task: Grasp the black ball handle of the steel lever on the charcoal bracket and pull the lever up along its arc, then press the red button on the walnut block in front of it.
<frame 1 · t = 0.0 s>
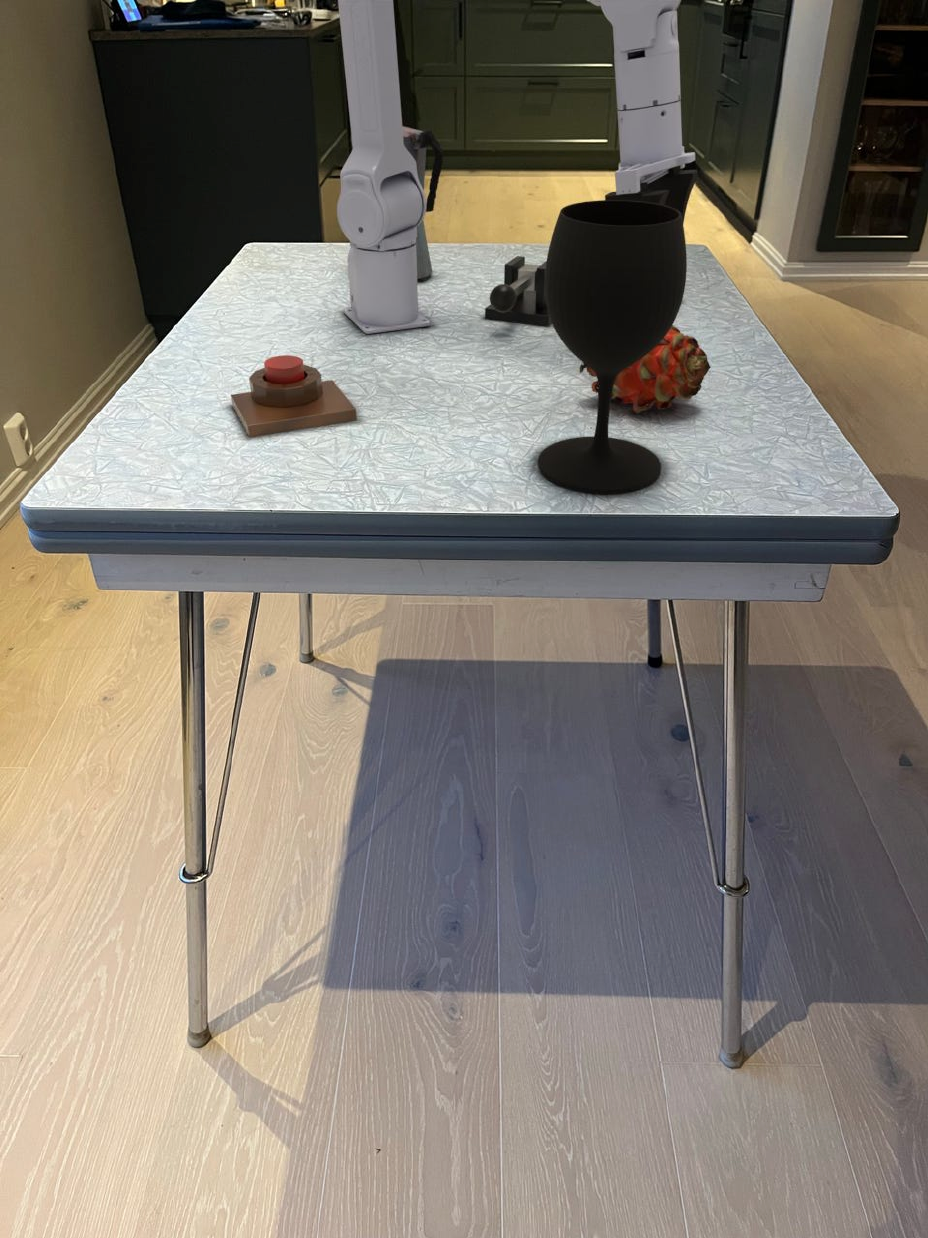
hand: (656, 260, 93), 11 cm above the table, tool pointing down, fingers open, 7 cm apart
wine glass: (598, 468, 79), on the table
bracket: (529, 311, 114), on the table
cork: (651, 302, 118), on the table
button block: (293, 413, 89), on the table
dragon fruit: (640, 407, 90), on the table
moka pot: (402, 277, 128), on the table
button: (284, 370, 88), point 3 cm above the table, slide at 0.1 cm
lever: (517, 287, 109), point 4 cm above the table, hinge at 0.0°
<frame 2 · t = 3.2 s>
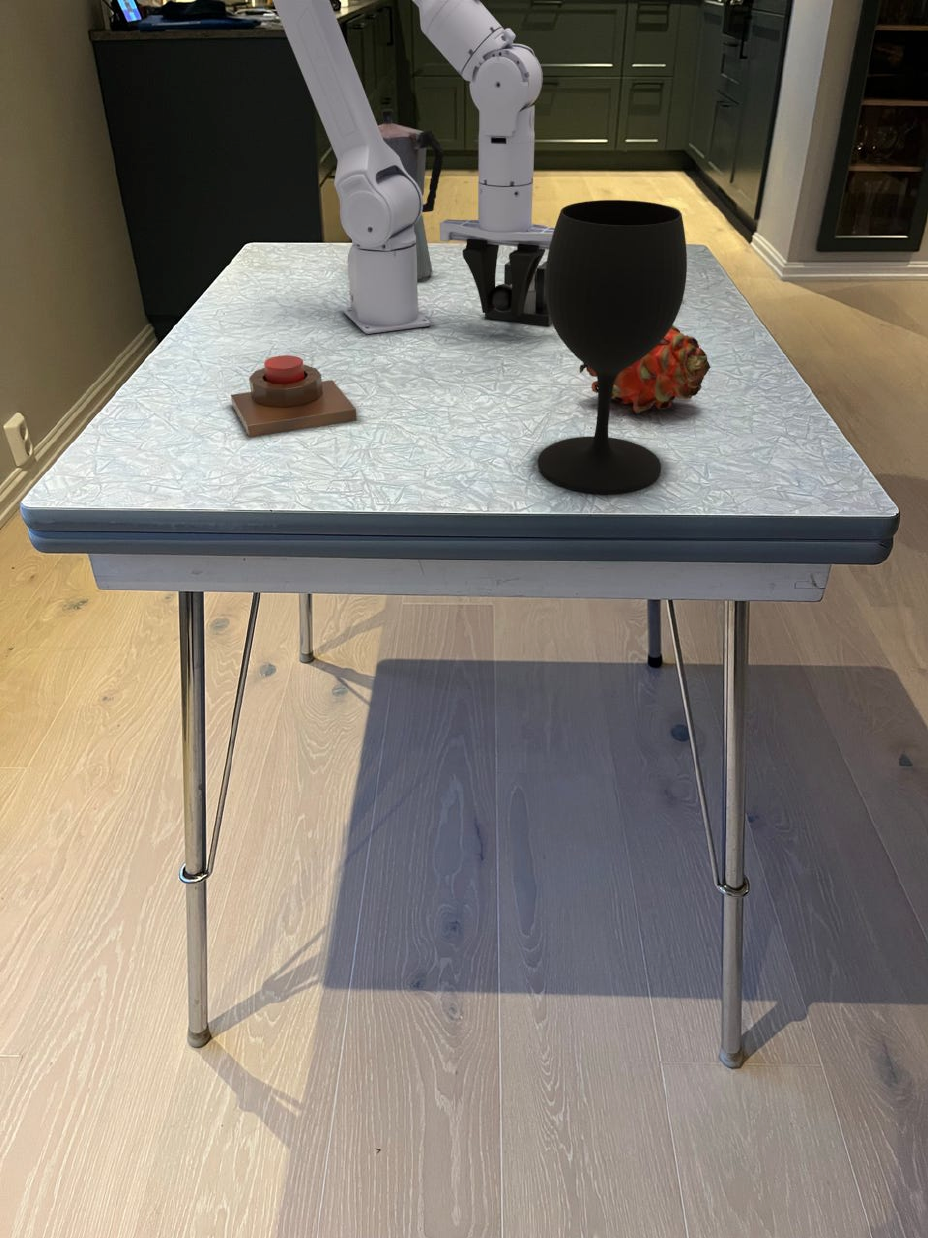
hand: (503, 312, 106), 2 cm above the table, tool pointing down, fingers closed on lever, 3 cm apart
lever: (517, 287, 109), point 4 cm above the table, hinge at 0.0°, touching gripper
everything else where it was.
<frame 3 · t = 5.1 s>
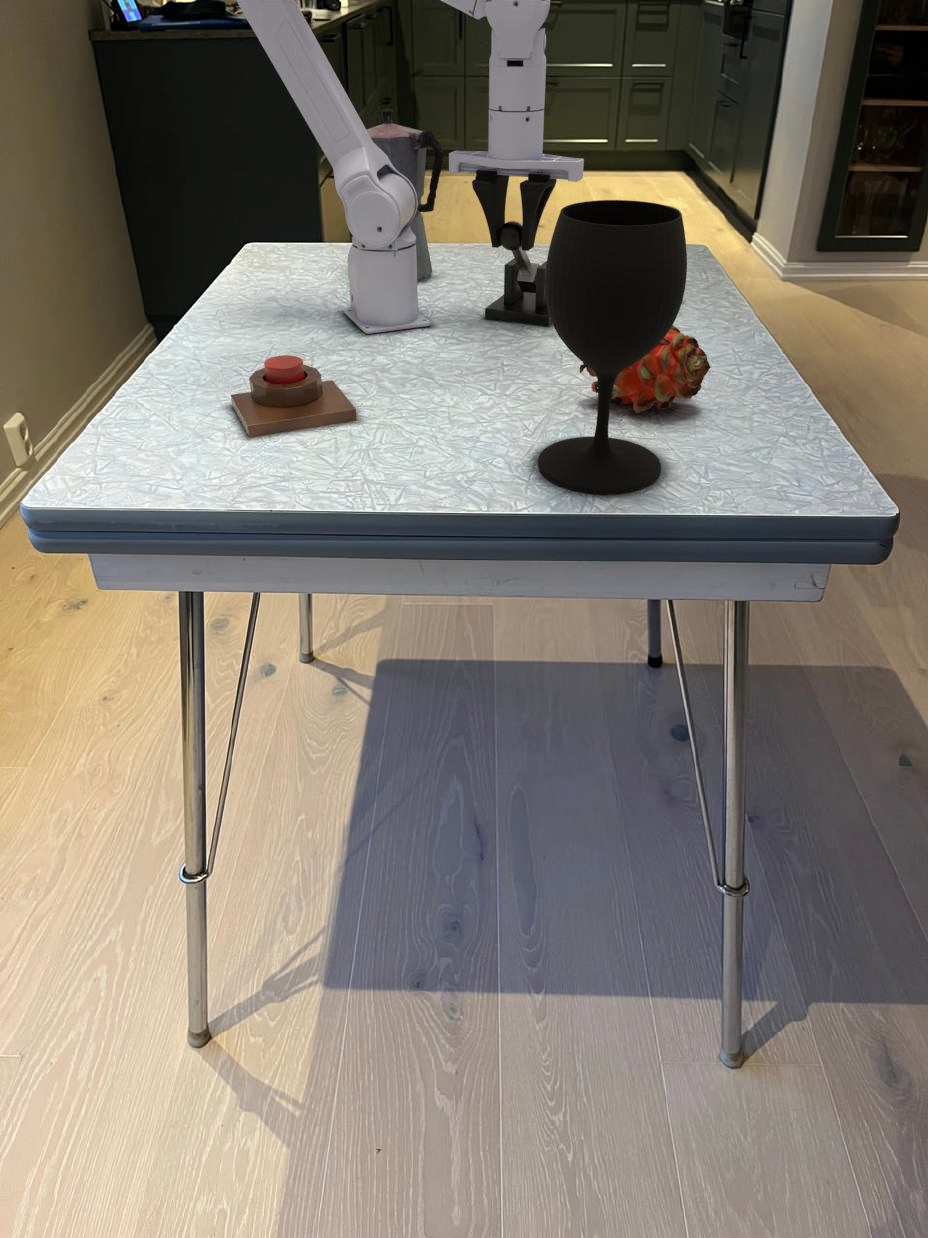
hand: (513, 247, 105), 9 cm above the table, tool pointing down, fingers closed on lever, 3 cm apart
lever: (521, 257, 108), point 7 cm above the table, hinge at 42.9°, touching gripper
everything else where it was.
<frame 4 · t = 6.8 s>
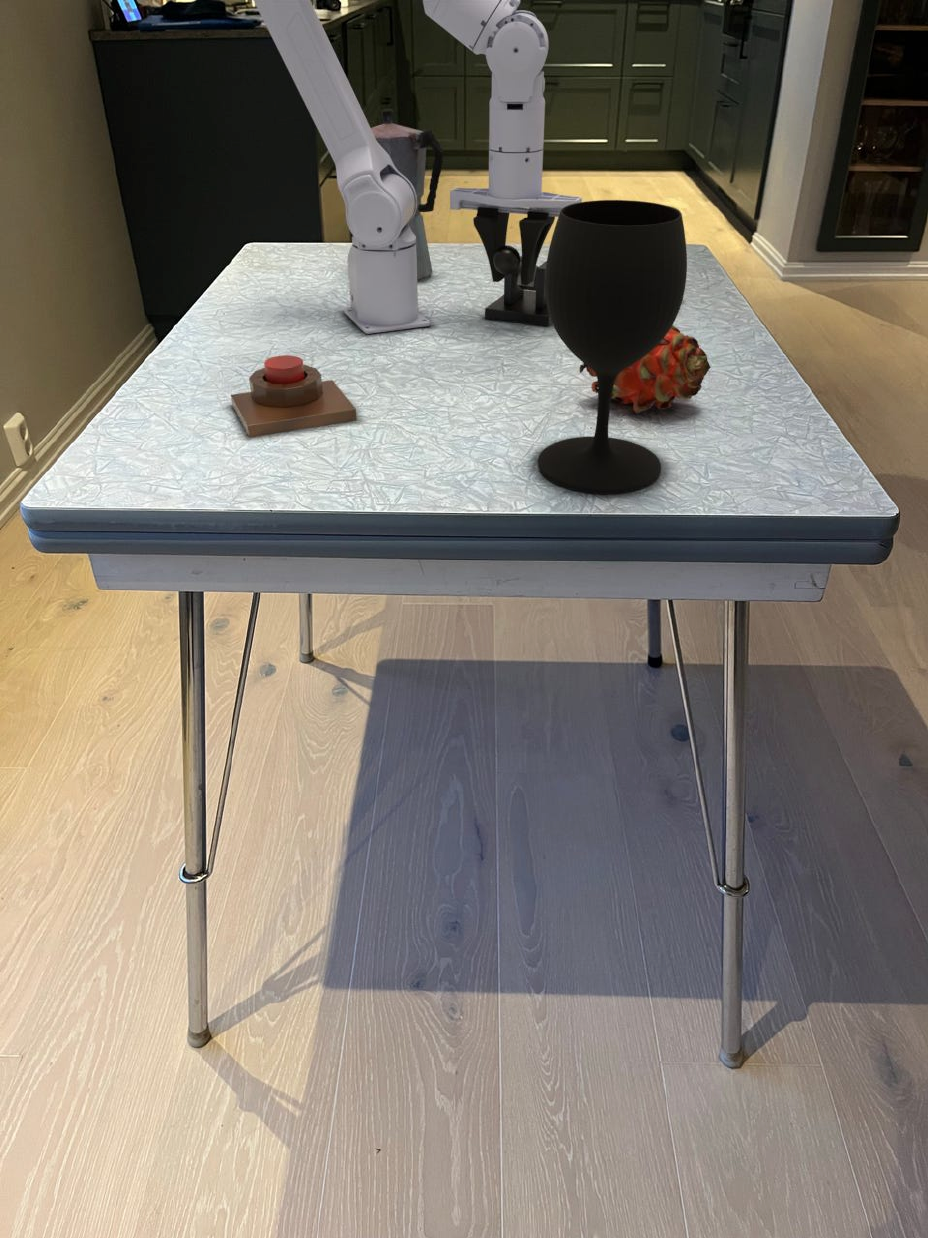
hand: (512, 281, 107), 5 cm above the table, tool pointing down, fingers closed on lever, 3 cm apart
lever: (518, 269, 108), point 6 cm above the table, hinge at 25.8°, touching gripper
everything else where it was.
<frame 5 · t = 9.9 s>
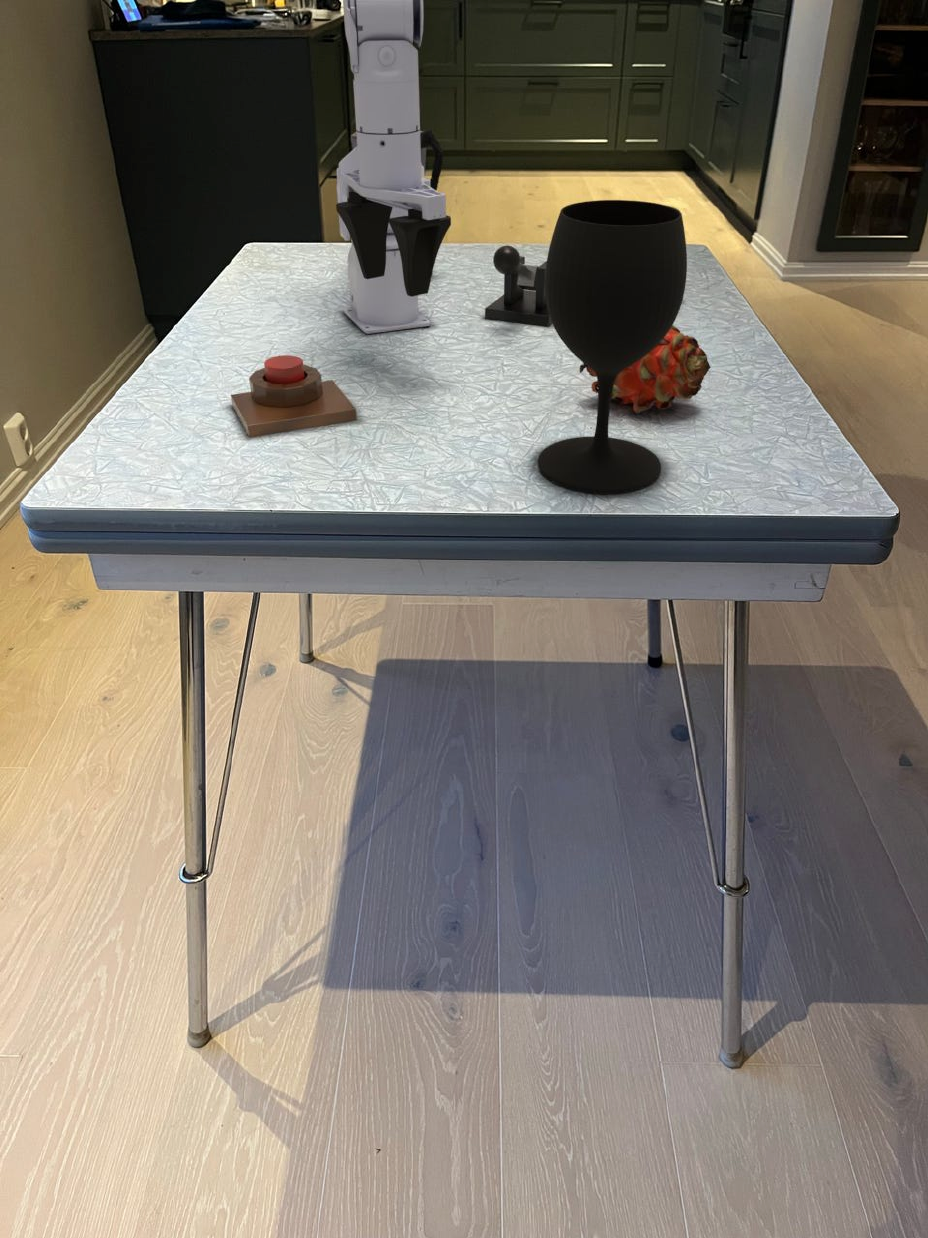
hand: (395, 285, 92), 9 cm above the table, tool pointing down, fingers open, 7 cm apart
lever: (518, 269, 108), point 6 cm above the table, hinge at 25.8°
everything else where it was.
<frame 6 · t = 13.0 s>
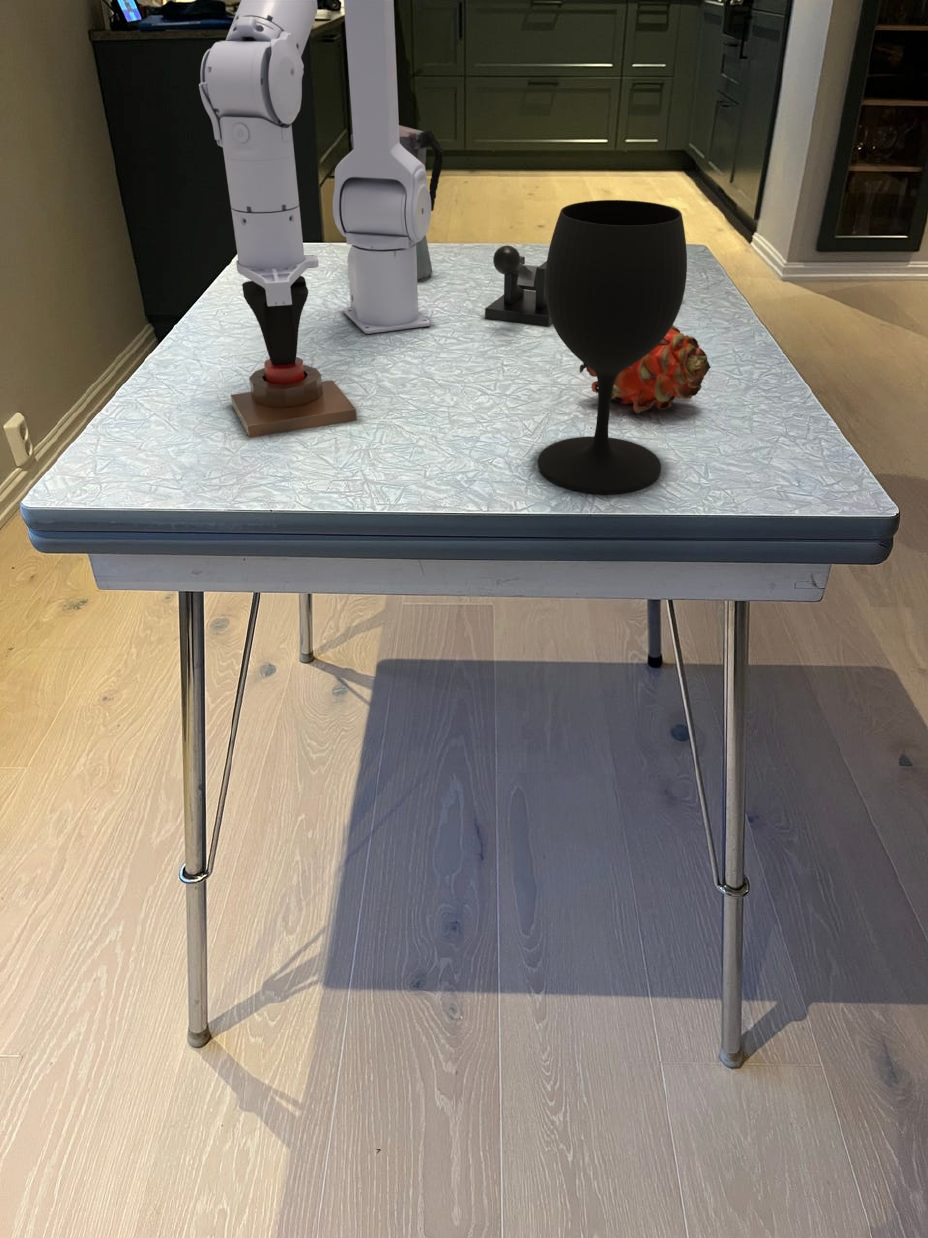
hand: (283, 362, 88), 4 cm above the table, tool pointing down, fingers closed, pressing on button
button: (284, 371, 88), point 3 cm above the table, slide at 0.1 cm, touching gripper
everything else where it was.
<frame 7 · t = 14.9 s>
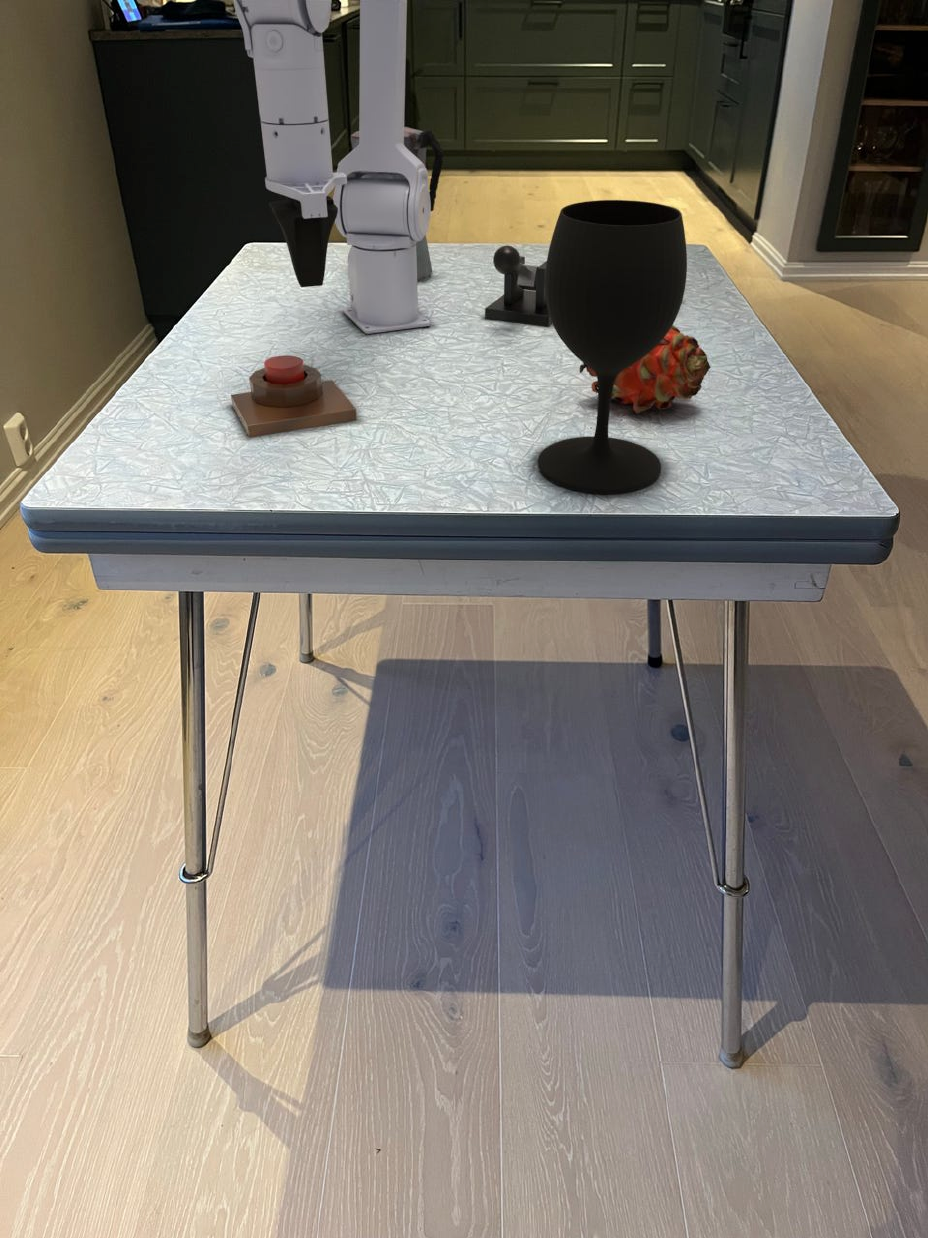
hand: (310, 284, 87), 10 cm above the table, tool pointing down, fingers closed
button: (284, 370, 88), point 3 cm above the table, slide at 0.1 cm
everything else where it was.
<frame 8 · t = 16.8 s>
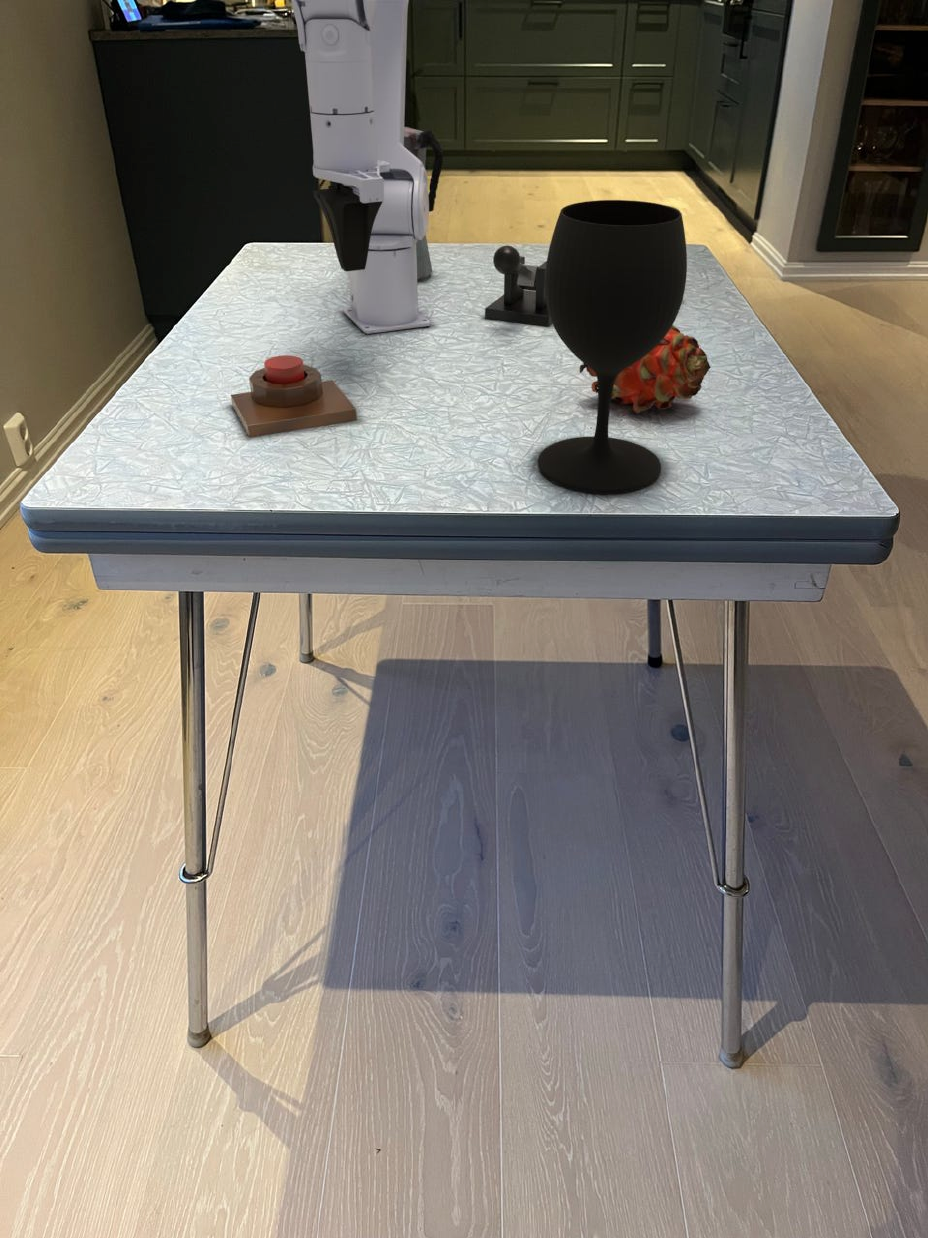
hand: (353, 268, 92), 10 cm above the table, tool pointing down, fingers closed
nothing on the table moved.
at the end: lever at +26° (first picture: +0°); button pushed in 1.2 cm at the most during the clip, back to where it started at the end; button slide at 0.1 cm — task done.
